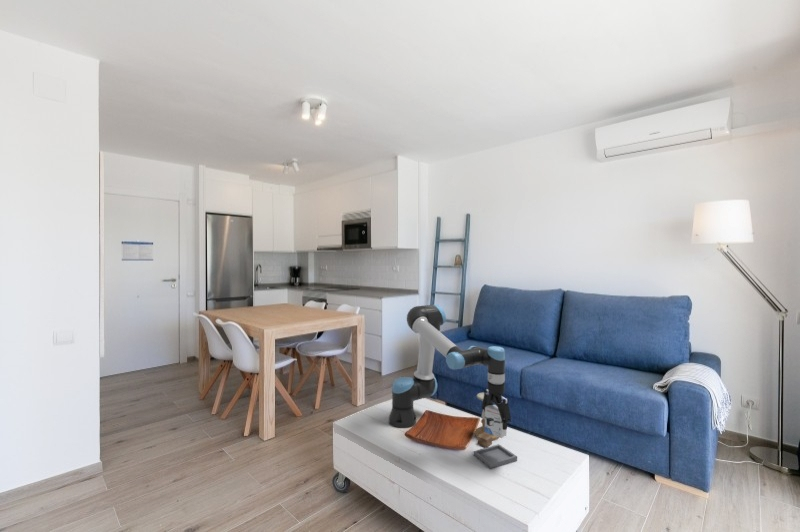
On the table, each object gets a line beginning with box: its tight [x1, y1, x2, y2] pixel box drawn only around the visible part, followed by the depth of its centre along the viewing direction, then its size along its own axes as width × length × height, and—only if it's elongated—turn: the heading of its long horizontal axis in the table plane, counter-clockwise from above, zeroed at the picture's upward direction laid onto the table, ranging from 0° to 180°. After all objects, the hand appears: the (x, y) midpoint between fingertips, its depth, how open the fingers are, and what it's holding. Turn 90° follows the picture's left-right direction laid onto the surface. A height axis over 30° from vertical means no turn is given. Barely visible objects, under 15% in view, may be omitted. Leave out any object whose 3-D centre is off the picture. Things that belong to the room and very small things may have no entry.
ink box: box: [485, 404, 508, 439], centre depth 167 cm, size 8×5×12 cm, turn 47°
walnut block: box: [477, 433, 493, 448], centre depth 180 cm, size 5×5×4 cm
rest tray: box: [472, 443, 518, 470], centre depth 168 cm, size 12×15×2 cm
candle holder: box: [474, 391, 500, 441], centre depth 190 cm, size 12×12×20 cm
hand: (495, 431), depth 168 cm, fingers closed on ink box, 9 cm apart
